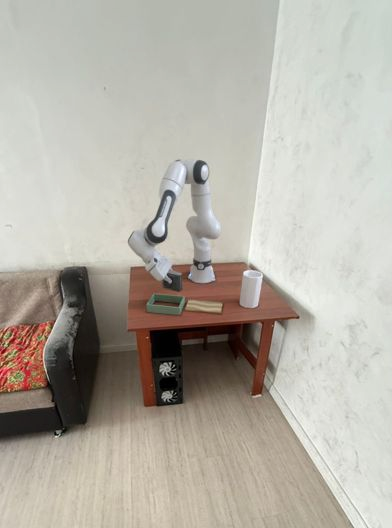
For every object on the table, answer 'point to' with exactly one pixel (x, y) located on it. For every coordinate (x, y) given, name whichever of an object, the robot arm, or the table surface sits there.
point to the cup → (250, 288)
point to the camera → (173, 281)
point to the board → (204, 306)
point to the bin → (165, 309)
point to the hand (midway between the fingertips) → (173, 279)
